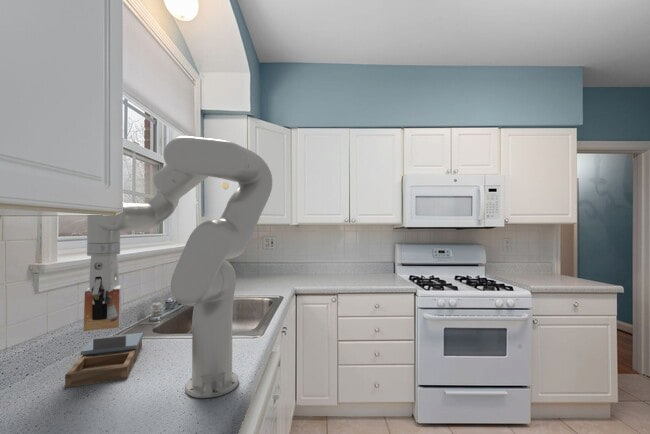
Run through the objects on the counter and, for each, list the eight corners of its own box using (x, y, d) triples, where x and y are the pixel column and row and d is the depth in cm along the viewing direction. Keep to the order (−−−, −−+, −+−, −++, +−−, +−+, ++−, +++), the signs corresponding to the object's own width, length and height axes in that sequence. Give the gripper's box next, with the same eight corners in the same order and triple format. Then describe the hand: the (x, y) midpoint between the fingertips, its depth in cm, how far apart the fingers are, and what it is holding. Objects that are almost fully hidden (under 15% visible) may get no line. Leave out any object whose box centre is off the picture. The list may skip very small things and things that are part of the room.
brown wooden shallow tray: (126, 378, 88) (127, 366, 88) (65, 387, 83) (65, 375, 83) (141, 346, 111) (141, 337, 111) (93, 352, 106) (94, 342, 106)
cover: (136, 348, 100) (136, 334, 100) (80, 355, 95) (80, 340, 95) (143, 335, 111) (143, 323, 111) (93, 340, 106) (93, 328, 106)
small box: (83, 332, 87) (83, 291, 87) (86, 326, 92) (87, 287, 92) (119, 327, 90) (119, 288, 91) (121, 322, 95) (121, 285, 96)
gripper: (112, 251, 85) (111, 323, 84) (126, 246, 101) (125, 307, 100) (76, 252, 82) (75, 326, 82) (96, 247, 98) (96, 309, 98)
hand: (103, 315), depth 91 cm, fingers closed on small box, 6 cm apart
